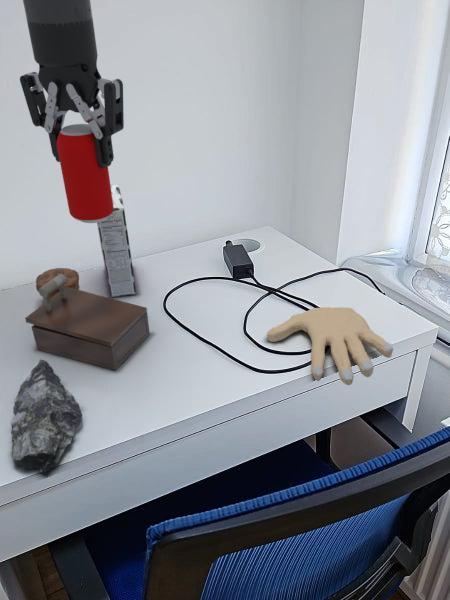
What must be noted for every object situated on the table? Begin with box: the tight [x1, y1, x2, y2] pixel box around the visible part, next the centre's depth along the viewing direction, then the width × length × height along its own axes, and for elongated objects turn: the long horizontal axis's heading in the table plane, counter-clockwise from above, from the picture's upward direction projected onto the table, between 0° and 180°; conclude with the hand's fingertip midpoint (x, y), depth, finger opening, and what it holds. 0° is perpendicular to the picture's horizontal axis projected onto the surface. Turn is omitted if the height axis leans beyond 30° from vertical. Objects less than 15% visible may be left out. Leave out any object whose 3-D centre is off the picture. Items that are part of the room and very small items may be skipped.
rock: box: [10, 358, 83, 473], centre depth 79 cm, size 9×22×4 cm, turn 15°
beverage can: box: [57, 123, 114, 224], centre depth 79 cm, size 6×6×12 cm
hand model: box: [266, 306, 394, 386], centre depth 91 cm, size 19×5×20 cm
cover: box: [24, 274, 148, 347], centre depth 89 cm, size 15×11×5 cm
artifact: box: [35, 267, 80, 299], centre depth 102 cm, size 8×8×5 cm
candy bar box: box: [96, 184, 137, 298], centre depth 104 cm, size 11×5×16 cm, turn 13°
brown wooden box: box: [31, 311, 150, 371], centre depth 93 cm, size 15×11×4 cm
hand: (83, 163), depth 78 cm, fingers closed on beverage can, 6 cm apart
